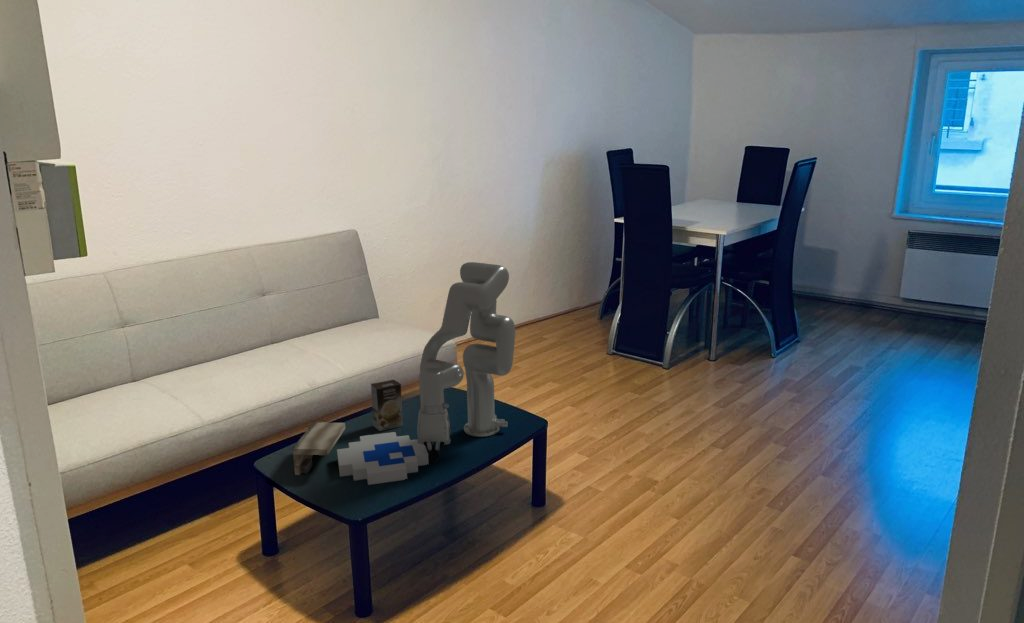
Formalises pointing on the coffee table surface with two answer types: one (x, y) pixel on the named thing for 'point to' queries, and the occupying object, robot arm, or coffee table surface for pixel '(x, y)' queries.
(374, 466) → the pixel art tile
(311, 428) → the low shelf
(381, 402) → the coffee box
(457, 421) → the coffee table surface
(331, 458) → the coffee table surface
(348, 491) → the coffee table surface
